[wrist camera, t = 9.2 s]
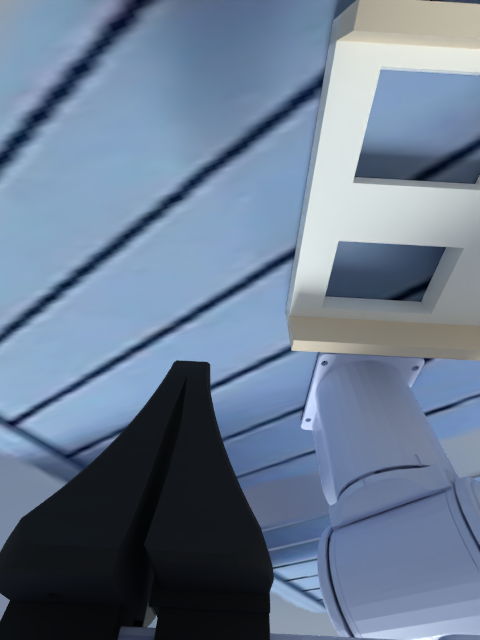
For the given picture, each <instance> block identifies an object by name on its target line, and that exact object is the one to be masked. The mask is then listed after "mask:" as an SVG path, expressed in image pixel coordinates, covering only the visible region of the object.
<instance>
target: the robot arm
mask: <svg viewBox="0 0 480 640" xmlns="http://www.w3.org/2000/svg"><path fill="white" fill-rule="evenodd" d="M323 361H326V362H323ZM424 362H425V361H424V359H423V358H421V357H403V356H384V355H366V354H347V353H329V352H321V353H319V355H318V359H317V363H316V367H315V371H314V374H313V378H312V382H311V386H310V389H309V393H308V397H307V401H306V405H305V408H304V412H303V416H302V420H301V428H302V429H304V430H312V433H313V439H314V444H315V450H316V455H317V461H318V466H319V472H320V477H321V482H322V488H323V492H324V495H325V497H326V499H327V502H328V503H329V505H330V506H329V507H328V510H329V516H330V521H331V525H330V526H328V527H327V528H326V529H325V530H324V531H323V533H322V535H321V538H320V541H319V546H318V578H319V584H320V589H321V593H322V597H323V601H324V604H325V607H326V610H327V612H328V615H329V617H330V619H331V621H332V624H333V625H334V627H335V629H336V631H337V633H338V634H339V636H340V637H333V636H312V635H290V634H270V625H269V613H270V589H271V587H272V584H273V580H274V575H273V568H272V563H271V559H270V556H269V552H268V549H267V546H266V543H265V540H264V537H263V534H262V530H261V527H260V525H259V523H258V521H257V520H256V518H255V516H254V514H253V512H252V510H251V508H250V506H249V504H248V502H247V500H246V498H245V496H244V493H243V491H242V489H241V487H240V485H239V482H238V480H237V478H236V475H235V473H234V470H233V468H232V466H231V463H230V461H229V458H228V455H227V453H226V450H225V447H224V444H223V441H222V438H221V435H220V431H219V428H218V424H217V421H216V417H215V413H214V408H213V403H212V398H211V392H210V364H209V363H208V362H196V361H175V362H174V363H173V365H172V367H171V369H170V370H169V372H168V374H167V375H166V377H165V378H164V380H163V381H162V383H161V384H160V386H159V387H158V389H157V390H156V391H155V393H154V394H153V395H152V397H151V398H150V399H149V401H148V402H147V403H146V405H145V406H144V407H143V408H142V410H141V411H140V412H139V413H138V415H137V416H136V417H135V418H134V419H133V421H132V422H131V423H130V424H129V425H128V426H127V427H126V429H125V430H124V431H123V432H122V433H121V434H120V435H119V436H118V437H117V438H116V439H115V440H114V441H113V442H112V443H111V444H110V445H109V446H108V447H107V448H106V449H105V450H104V451H103V452H102V453H101V454H100V455H99V456H98V457H97V458H96V459H95V460H94V461H93V462H92V463H90V464H89V465H88V466H87V467H86V468H85V469H84V470H82V471H81V472H80V473H79V474H78V475H76V476H75V477H74V478H73V479H72V480H71V481H69V482H68V483H67V484H66V485H65V486H63V487H62V488H61V489H60V490H58V491H57V492H56V493H55V494H53V495H52V496H51V497H49V498H48V499H47V500H45V501H44V502H43V503H41V504H40V505H39V506H37V507H36V508H35V509H33V510H32V511H31V512H29V513H28V514H27V515H25V516H24V517H22V518H21V520H20V521H19V523H18V524H17V526H16V527H15V529H14V530H13V532H12V533H11V535H10V536H9V538H8V539H7V541H6V543H5V544H4V546H3V548H2V550H1V552H0V593H1V594H2V595H4V596H5V597H6V598H8V599H9V600H10V602H9V604H8V606H7V608H6V611H5V612H4V615H3V617H2V619H1V621H0V640H480V482H478V481H476V480H475V479H473V478H471V477H463V478H460V479H459V477H458V475H457V473H456V472H455V470H454V468H453V466H452V464H451V462H450V461H449V459H448V457H447V455H446V453H445V451H444V450H443V448H442V446H441V444H440V442H439V440H438V438H437V437H436V435H435V433H434V431H433V429H432V427H431V426H430V424H429V422H428V420H427V418H426V416H425V414H424V413H423V411H422V409H421V407H420V405H419V403H418V402H417V400H416V398H415V396H414V394H413V392H412V391H411V387H412V385H413V383H414V381H415V380H416V378H417V376H418V374H419V372H420V370H421V368H422V367H423V365H424ZM414 366H415V367H414ZM156 615H157V617H158V620H157V625H156V628H147V627H148V626H149V625H150V624H151V622H152V621H153V620H154V619H155V616H156Z"/></svg>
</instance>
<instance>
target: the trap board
mask: <svg viewBox="0 0 480 640" xmlns="http://www.w3.org/2000/svg"><path fill="white" fill-rule="evenodd" d="M381 69H382V70H398V71H415V72H431V73H448V74H464V75H480V4H471V3H455V2H439V1H423V0H356V1H355V2H353V3H352V4H351V5H350V6H349V7H348V8H347V9H345V10H344V11H343V12H342V13H341V14H340V15H339V16H338V17H336V18H335V19H334V20H333V24H332V30H331V37H330V43H329V49H328V55H327V61H326V67H325V73H324V80H323V86H322V92H321V98H320V104H319V110H318V116H317V122H316V129H315V135H314V141H313V147H312V153H311V159H310V165H309V172H308V178H307V184H306V190H305V196H304V202H303V208H302V214H301V221H300V227H299V233H298V239H297V245H296V251H295V257H294V264H293V270H292V276H291V282H290V288H289V294H288V300H287V306H286V319H287V325H288V331H289V338H290V344H291V350H292V351H310V352H329V353H347V354H366V355H384V356H403V357H421V358H440V359H458V360H477V361H480V175H479V177H478V179H477V181H476V184H466V183H449V182H432V181H414V180H397V179H380V178H363V177H354V176H355V172H356V168H357V164H358V160H359V155H360V151H361V147H362V143H363V139H364V135H365V131H366V127H367V123H368V119H369V115H370V110H371V106H372V102H373V98H374V94H375V90H376V86H377V82H378V78H379V74H380V70H381ZM338 241H350V242H368V243H385V244H403V245H421V246H438V247H446V248H445V251H444V253H443V255H442V257H441V259H440V261H439V264H438V266H437V268H436V270H435V272H434V274H433V277H432V279H431V281H430V283H429V285H428V287H427V290H426V292H425V294H424V296H423V298H422V300H421V302H417V301H399V300H381V299H363V298H345V297H327V296H325V294H326V290H327V286H328V282H329V278H330V274H331V270H332V266H333V262H334V258H335V254H336V249H337V245H338Z"/></svg>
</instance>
